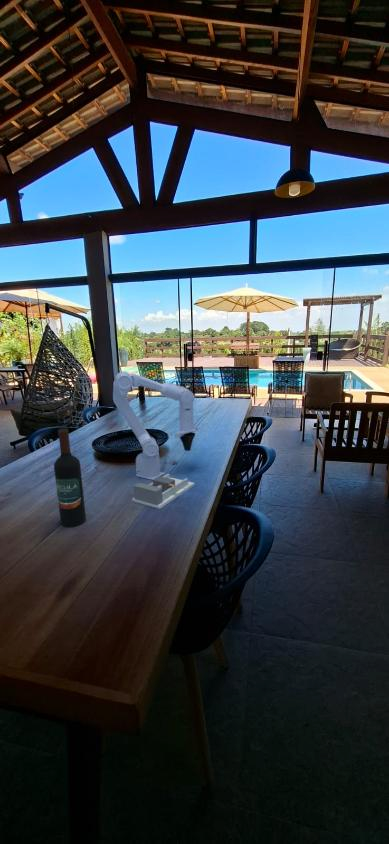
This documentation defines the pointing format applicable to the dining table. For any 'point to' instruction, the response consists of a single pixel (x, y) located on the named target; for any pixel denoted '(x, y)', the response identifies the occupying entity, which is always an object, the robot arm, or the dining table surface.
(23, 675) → the dining table surface
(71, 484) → the wine bottle
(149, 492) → the gauge frame
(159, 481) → the block with orange peg
